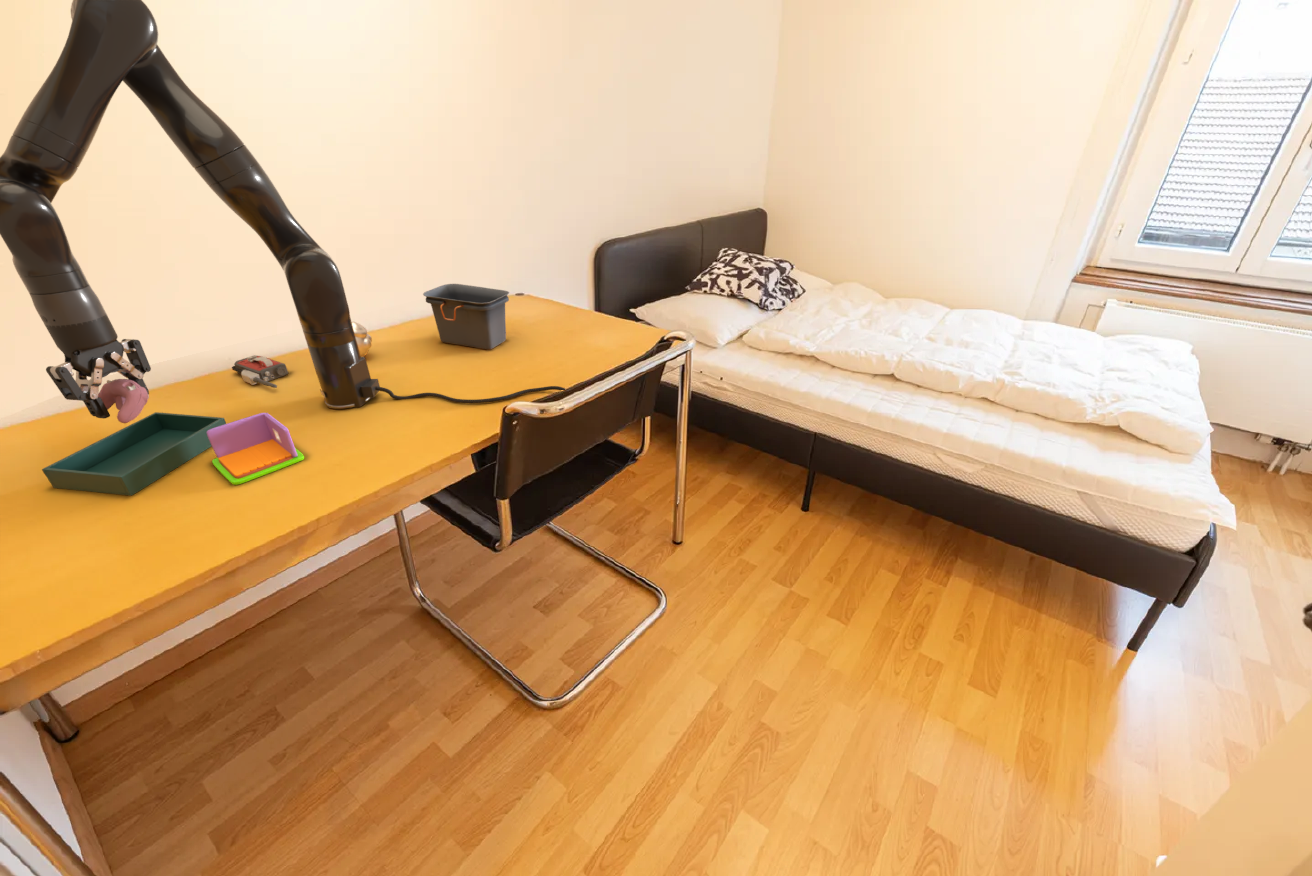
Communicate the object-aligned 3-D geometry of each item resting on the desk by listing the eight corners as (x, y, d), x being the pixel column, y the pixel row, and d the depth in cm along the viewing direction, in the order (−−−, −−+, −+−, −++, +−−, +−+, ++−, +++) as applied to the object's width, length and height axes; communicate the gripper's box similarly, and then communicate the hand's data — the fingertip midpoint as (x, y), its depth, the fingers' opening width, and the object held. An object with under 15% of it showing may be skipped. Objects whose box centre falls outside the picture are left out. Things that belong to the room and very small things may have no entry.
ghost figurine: (358, 367, 142) (347, 329, 137) (328, 362, 145) (317, 325, 140) (383, 355, 150) (374, 319, 145) (355, 350, 152) (345, 314, 147)
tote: (231, 434, 112) (223, 417, 110) (131, 495, 94) (121, 477, 92) (163, 428, 114) (155, 412, 112) (53, 487, 96) (41, 469, 94)
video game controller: (151, 424, 99) (155, 385, 98) (119, 424, 95) (123, 383, 94) (120, 413, 102) (123, 375, 102) (87, 412, 98) (90, 373, 97)
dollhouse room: (281, 438, 111) (269, 407, 108) (307, 459, 105) (295, 427, 101) (210, 462, 103) (195, 430, 100) (233, 487, 97) (219, 453, 93)
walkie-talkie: (224, 376, 137) (272, 393, 129) (217, 359, 135) (266, 376, 126) (261, 364, 144) (309, 380, 135) (255, 347, 141) (303, 363, 133)
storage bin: (519, 339, 162) (514, 289, 154) (489, 357, 149) (481, 305, 142) (457, 330, 167) (449, 282, 160) (423, 347, 155) (412, 296, 148)
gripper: (47, 332, 84) (102, 428, 92) (136, 304, 96) (178, 391, 104) (4, 330, 85) (63, 425, 93) (98, 302, 97) (142, 389, 105)
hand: (123, 407), depth 99 cm, fingers closed on video game controller, 6 cm apart
